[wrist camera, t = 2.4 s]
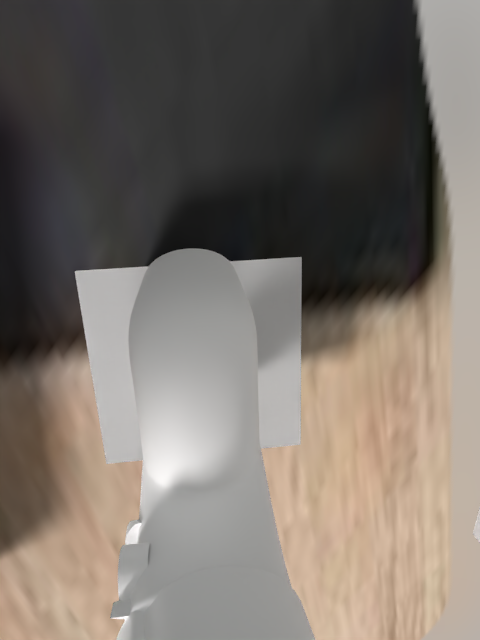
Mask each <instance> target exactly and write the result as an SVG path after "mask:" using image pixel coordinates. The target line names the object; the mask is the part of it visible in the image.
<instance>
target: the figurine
mask: <svg viewBox="0 0 480 640" xmlns="http://www.w3.org/2000/svg"><path fill="white" fill-rule="evenodd" d="M75 276H76V282H77V288H78V295H79V301H80V307H81V313H82V319H83V325H84V331H85V337H86V343H87V349H88V355H89V361H90V367H91V373H92V379H93V385H94V391H95V397H96V403H97V409H98V415H99V421H100V427H101V433H102V440H103V446H104V452H105V458H106V464H110V463H120V462H130V461H140V460H143V468H142V482H141V498H140V513H139V520H134V521H130V523H129V524H128V526H127V532H126V539H125V544H126V545H123V546H122V547H121V551H120V556H119V565H118V593H119V601H117V602H114V603H113V607H112V612H111V617H110V618H113V619H125V622H124V623H123V625H122V627H121V629H120V631H119V634H118V636H117V640H315V637H314V635H313V632H312V629H311V627H310V624H309V621H308V619H307V616H306V613H305V611H304V608H303V605H302V603H301V600H300V599H299V597H298V596H297V594H296V592H295V591H294V590H293V589H292V587H291V584H290V580H289V577H288V573H287V569H286V565H285V561H284V557H283V553H282V549H281V545H280V541H279V536H278V532H277V527H276V523H275V518H274V513H273V508H272V503H271V498H270V493H269V488H268V483H267V478H266V472H265V467H264V462H263V457H262V452H261V448H271V447H281V446H291V445H300V438H301V297H302V257H293V258H277V259H261V260H245V261H229V260H228V259H226V258H225V257H224V256H223V255H221V254H218V253H216V252H214V251H210V250H206V249H198V248H188V249H180V250H176V251H172V252H169V253H166V254H164V255H162V256H160V257H158V258H157V259H155V260H154V261H153V262H152V263H151V264H150V265H149V266H148V267H132V268H116V269H100V270H84V271H75Z"/></svg>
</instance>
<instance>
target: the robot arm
mask: <svg viewBox="0 0 480 640" xmlns="http://www.w3.org/2000/svg"><path fill="white" fill-rule="evenodd" d="M473 535H474V536H475V537H476V539H477V540H478V541H479V543H480V508H479V512H478V516H477V520H476V524H475V528H474V532H473Z"/></svg>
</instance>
